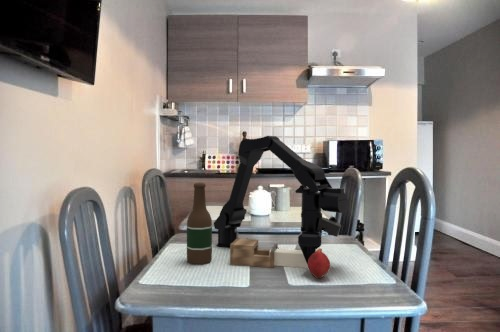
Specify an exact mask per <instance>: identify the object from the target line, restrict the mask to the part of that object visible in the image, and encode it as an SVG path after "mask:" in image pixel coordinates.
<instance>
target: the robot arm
mask: <svg viewBox="0 0 500 332" xmlns="http://www.w3.org/2000/svg"><path fill="white" fill-rule="evenodd" d="M269 151H270V152H271V153H272V154H273V155H275V156H276V157H277V158H278V159H279V160H280V161H281V162H282V163H284V165H286V166H287V167H288V168H290V170H291V171H292V172H293V175H294V178H296V180H297V181H298V183H299V185H300V186H299V188H297V189H296V190H295V191H294V192H295V193H296V194H301V213H300V217H301V218H300V220H301V222H300V223H301V224H300V225H301V226H300V233H299V235H298V236H297V242H298V244H299V246H300V248H301V250H302V253H303V255H304V258H305V260H306V263H307V265H308V259H309V257H310V256H311V255H312V254H313V253H314V252H315V251H317V249H319V248H320V247H321V246H322V235H323V234H322V233H323V231H324V232H326V233H328V234H330V235H332V236H333V237H338V236H339V234H340V231H341V228H342V224H340V222H337V218H336V217H335V216H333V215H331V216H330V217H329V218H327V217H326V218H325V217H323V213H322V211H323V212H331V213H337V214H339V213H340V214H344V213H346V211H347V209H348V205H349V200H348V196H347V194H346V193H345V188H343V187H338V188H335V187H333V186H332V185H331V184H330V182H329V180H328V179H327V177H326V175H325V173H326V172H325V170H324V169H323V168H322V167H320V165H317V164H315V163H313V162H311V161H308V160H306V159H304V158H302V157H301V156H300V155H299V154H298V153H296V152H295V151H294V150H293V149H291V148H290V147H289V146H288V145H286V144H285V143H284V142H283V141H282V140H280V138H279V137H278V136H276V135H266V136H262V137H258V138H244V139H242V140H241V141H240V142H239V146H238V151H237V156H238V160H239V164H238V168H237V171H236V175H235V179H234V181H233V186H232V188H231V192H230V196H229V199H228V200H227V202H226V203H225V204H223V206H222V208H221V210H220V213H219V215H218V217H217V218H216V219H215V220H214V222H213V227H214V229H215V230H217V244H216V247H225V248H230V244H231V243H232V242H233V241H235V240H236V239H237V238H239V231H238V228H241V225H242V222H243V221H244V220H245V217H246V215H247V208H245V206H244V201H245V197H246V194H247V190H248V187H249V184H250V182H251V181H250V180H251V178H252V174H253V171H254V167H255V166H256V165H257V163H258V162H259V161H260V160H261V159H262V157H263V155H264V153H265V152H269ZM301 231H302V232H301ZM304 231H305V232H304Z"/></svg>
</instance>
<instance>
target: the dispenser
mask: <svg viewBox="0 0 500 332" xmlns="http://www.w3.org/2000/svg"><path fill="white" fill-rule="evenodd" d="M229 249H230V250H229V253H230V254H229V265H232V266H233V265H234V266H245V267H246V266H248V267H259V268H260V267H263V268H271V269H273V268H274V267H275V266H274V251H275V249H278V243H274V244H273V246H272V249H271V248H270V249H267V248H266V249H265V248H263V249H262V248H259V239H256V238H239V237H238V238H237V239H236V240H235V241H233V242H232V243H231V244H230V247H229ZM270 250H271V252H270ZM269 252H270V256H269Z"/></svg>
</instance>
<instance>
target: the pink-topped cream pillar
mask: <svg viewBox="0 0 500 332" xmlns="http://www.w3.org/2000/svg"><path fill="white" fill-rule="evenodd" d="M272 248H273V247H272ZM272 248H270V249H269V250H270V252H271V249H272ZM316 251H317V250H315V252H316ZM270 252H269V256H270ZM275 266H276V267H291V268H303V269H309V268H308V265H307V263H306V260H305V258H304V255H303V253H302V250H296V249H288V248H287V249H286V248H277V249H275V251H274V267H275Z"/></svg>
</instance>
